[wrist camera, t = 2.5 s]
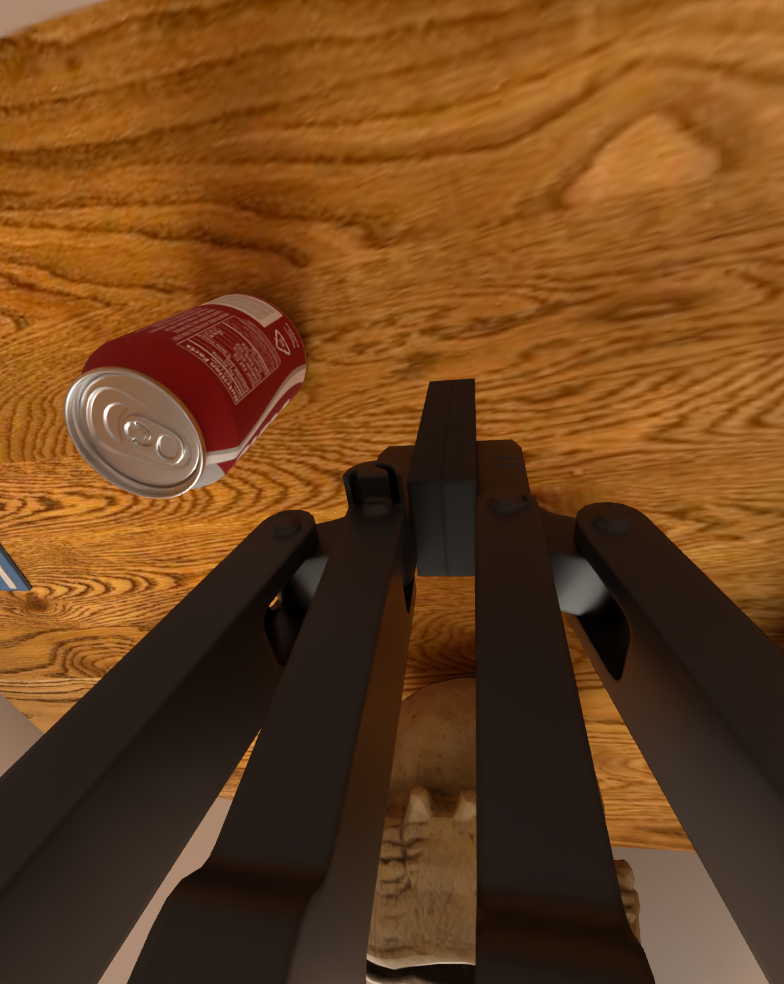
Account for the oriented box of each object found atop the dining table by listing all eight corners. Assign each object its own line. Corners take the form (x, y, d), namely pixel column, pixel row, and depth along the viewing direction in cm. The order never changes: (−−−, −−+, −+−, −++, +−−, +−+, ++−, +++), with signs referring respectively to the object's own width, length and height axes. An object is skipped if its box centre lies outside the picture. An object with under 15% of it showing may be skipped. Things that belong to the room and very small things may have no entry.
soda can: (216, 267, 25) (50, 313, 15) (327, 328, 26) (239, 409, 16) (191, 372, 29) (42, 464, 19) (288, 422, 30) (197, 536, 20)
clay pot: (549, 776, 48) (591, 1079, 32) (354, 734, 49) (296, 1007, 33) (633, 655, 37) (769, 1031, 20) (376, 602, 38) (304, 921, 21)
